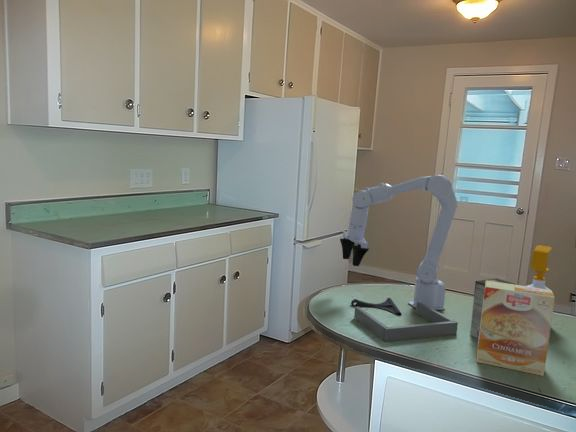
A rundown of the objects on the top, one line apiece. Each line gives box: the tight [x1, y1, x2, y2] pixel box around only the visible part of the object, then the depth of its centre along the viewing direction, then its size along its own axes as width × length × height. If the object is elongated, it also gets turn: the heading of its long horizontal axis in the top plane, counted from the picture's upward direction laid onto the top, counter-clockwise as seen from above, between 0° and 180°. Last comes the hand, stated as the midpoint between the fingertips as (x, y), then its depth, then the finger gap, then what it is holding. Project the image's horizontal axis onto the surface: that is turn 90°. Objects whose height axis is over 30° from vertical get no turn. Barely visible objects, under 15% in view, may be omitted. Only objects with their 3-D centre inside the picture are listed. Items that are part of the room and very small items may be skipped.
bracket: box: [350, 297, 402, 316], centre depth 151 cm, size 14×15×3 cm
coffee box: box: [469, 278, 517, 339], centre depth 129 cm, size 9×6×16 cm
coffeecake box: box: [476, 279, 556, 377], centre depth 112 cm, size 15×7×20 cm, turn 66°
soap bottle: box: [526, 244, 555, 296], centre depth 140 cm, size 9×9×25 cm
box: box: [353, 302, 459, 343], centre depth 135 cm, size 23×18×4 cm
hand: (350, 262), depth 160 cm, fingers open, 7 cm apart
